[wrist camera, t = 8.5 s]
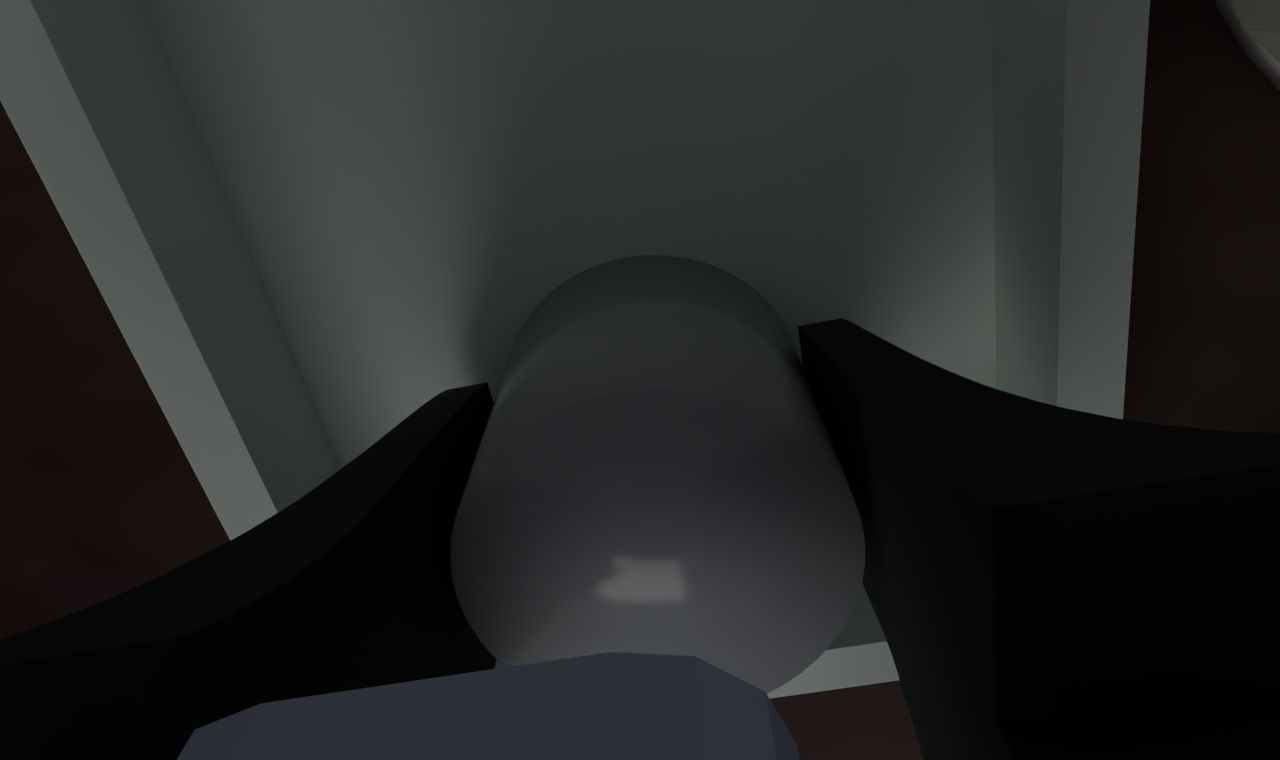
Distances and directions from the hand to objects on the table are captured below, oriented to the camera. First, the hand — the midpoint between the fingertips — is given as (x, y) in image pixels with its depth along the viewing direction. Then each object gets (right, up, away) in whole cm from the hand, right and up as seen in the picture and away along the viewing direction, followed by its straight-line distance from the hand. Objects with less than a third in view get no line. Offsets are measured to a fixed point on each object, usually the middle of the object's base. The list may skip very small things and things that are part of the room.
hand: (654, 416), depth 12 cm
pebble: (0, 0, +1) cm, 1 cm away
